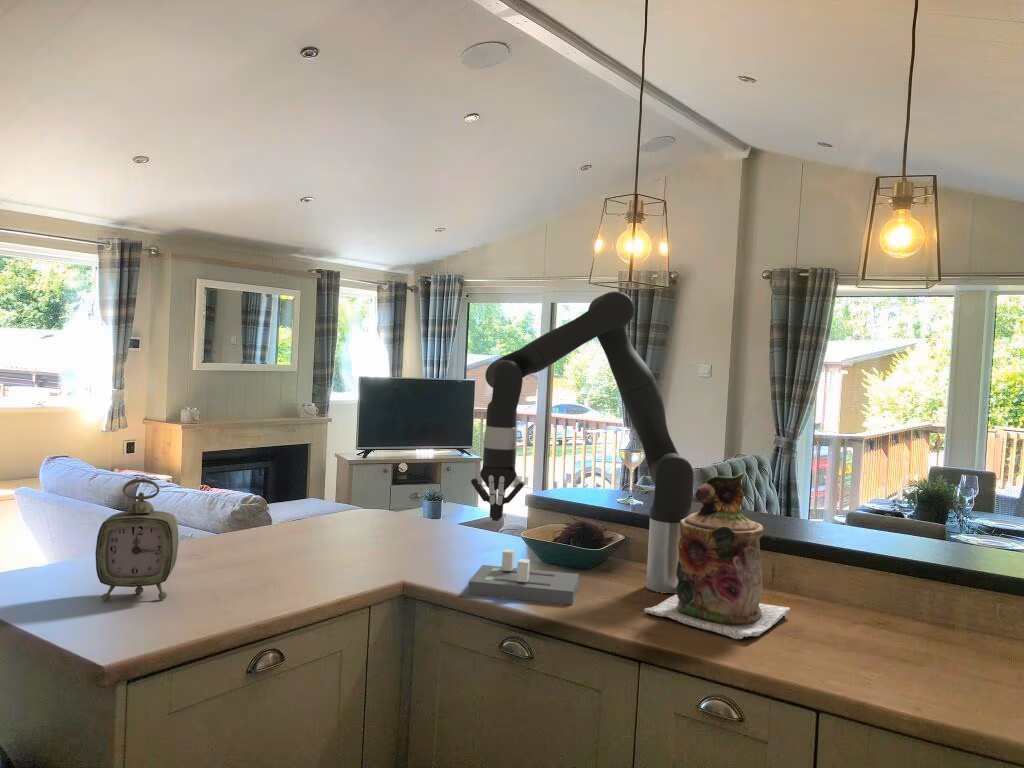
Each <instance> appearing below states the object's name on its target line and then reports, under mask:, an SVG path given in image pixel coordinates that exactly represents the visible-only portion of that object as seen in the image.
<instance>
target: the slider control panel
mask: <svg viewBox="0 0 1024 768" xmlns="http://www.w3.org/2000/svg"><path fill="white" fill-rule="evenodd" d="M579 576H580V575H579V573H571V572H562V571H561V572H560V571H549V570H539V569H537V570H536V569H531V568H529V579H528V581H527V582H519V581H517V567H514V568H513V570H512V571H504V570H502V566H497V565H489V564H481V566H480V567H479V568H478V570H477V571H475V573H474V574H473V576H472V577H471V578H470V579H469V580H468V588H467V594H468V595H471V596H472V595H473V596H474V595H475V596H481V595H482V596H483V597H491V596H494V597H493V598H500V597H504V598H503V599H510V598H513V599H512V600H519V599H522V601H529V600H532V601H531V602H539V601H542V603H548V602H549V604H550V603H551V604H558V603H561V604H560V605H568V604H570V605H569V606H573V604H574V601H575V597H576V594H577V591H578V588H579Z"/></svg>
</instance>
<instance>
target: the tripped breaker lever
mask: <svg viewBox="0 0 1024 768" xmlns="http://www.w3.org/2000/svg"><path fill="white" fill-rule="evenodd" d="M530 563H531V561H530V559H526V558H519V559H518V561H517V563H516V564H517V567H516V568H517V581H519V582H527V581H528V579H529V569H530V566H531V565H530Z"/></svg>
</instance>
